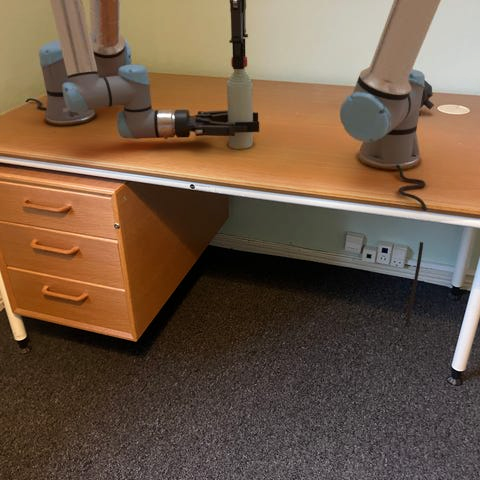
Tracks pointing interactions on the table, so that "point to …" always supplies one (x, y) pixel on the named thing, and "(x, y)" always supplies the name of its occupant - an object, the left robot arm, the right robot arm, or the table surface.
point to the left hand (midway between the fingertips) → (258, 122)
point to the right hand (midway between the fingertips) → (239, 66)
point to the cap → (244, 61)
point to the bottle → (240, 106)
